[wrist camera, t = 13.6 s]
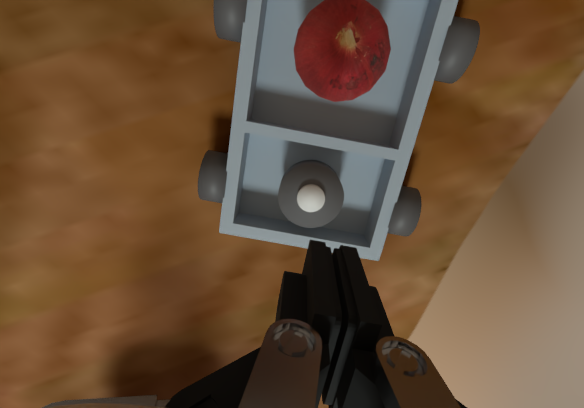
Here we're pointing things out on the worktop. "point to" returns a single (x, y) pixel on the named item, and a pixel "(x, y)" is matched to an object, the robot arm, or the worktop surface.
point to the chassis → (329, 122)
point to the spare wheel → (310, 194)
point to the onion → (342, 49)
